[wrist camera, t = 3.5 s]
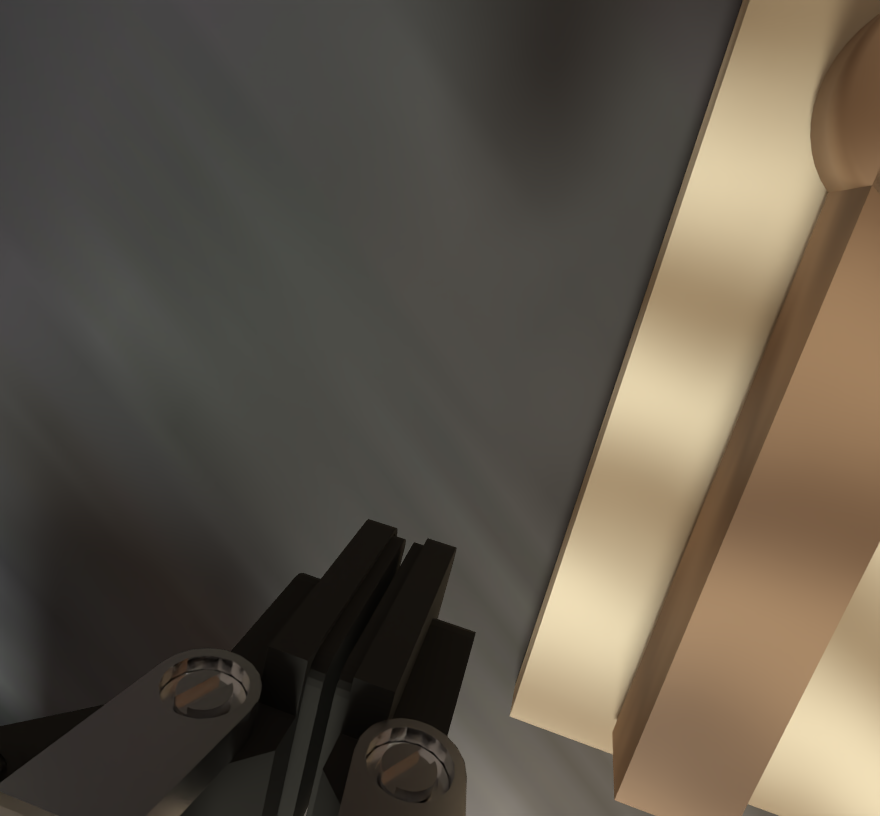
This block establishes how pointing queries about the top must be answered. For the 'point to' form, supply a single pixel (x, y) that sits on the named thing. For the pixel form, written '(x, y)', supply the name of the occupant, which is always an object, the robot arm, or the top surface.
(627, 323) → the top surface
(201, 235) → the top surface
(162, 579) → the top surface
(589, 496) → the birch board
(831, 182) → the walnut link
